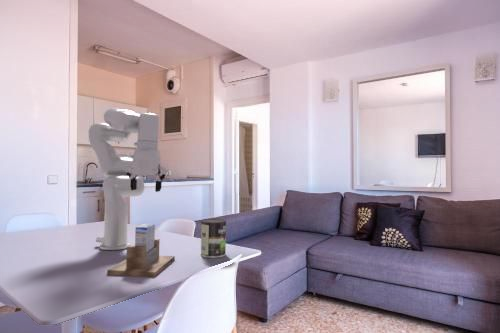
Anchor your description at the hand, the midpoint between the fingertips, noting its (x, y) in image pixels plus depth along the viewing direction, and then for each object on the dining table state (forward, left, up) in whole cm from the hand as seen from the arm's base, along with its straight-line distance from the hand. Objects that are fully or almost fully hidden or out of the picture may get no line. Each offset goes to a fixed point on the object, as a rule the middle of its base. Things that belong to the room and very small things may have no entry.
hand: (145, 190), depth 124 cm
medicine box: (+4, -8, -21) cm, 23 cm away
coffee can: (+24, +11, -27) cm, 38 cm away
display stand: (+3, -9, -27) cm, 28 cm away
